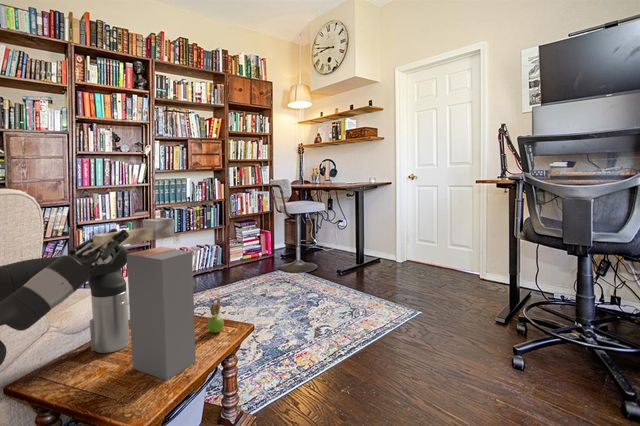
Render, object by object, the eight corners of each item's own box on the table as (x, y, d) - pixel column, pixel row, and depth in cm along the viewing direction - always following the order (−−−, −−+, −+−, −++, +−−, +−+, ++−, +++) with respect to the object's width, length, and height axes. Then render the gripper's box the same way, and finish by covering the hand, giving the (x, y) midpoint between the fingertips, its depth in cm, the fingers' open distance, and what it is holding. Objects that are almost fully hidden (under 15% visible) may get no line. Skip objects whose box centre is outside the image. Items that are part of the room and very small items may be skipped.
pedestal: (167, 380, 89) (161, 258, 86) (132, 368, 95) (126, 253, 91) (195, 361, 98) (192, 250, 95) (163, 351, 104) (158, 246, 100)
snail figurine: (227, 327, 121) (226, 294, 119) (220, 336, 114) (219, 301, 113) (212, 326, 121) (211, 293, 120) (204, 335, 115) (203, 300, 114)
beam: (104, 249, 79) (103, 227, 79) (90, 247, 81) (89, 226, 81) (174, 236, 97) (173, 218, 97) (161, 234, 99) (160, 217, 99)
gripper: (66, 273, 68) (133, 221, 81) (27, 265, 74) (95, 218, 86) (88, 299, 72) (148, 246, 85) (49, 289, 78) (111, 241, 90)
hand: (121, 232), depth 85 cm, fingers closed on beam, 3 cm apart
